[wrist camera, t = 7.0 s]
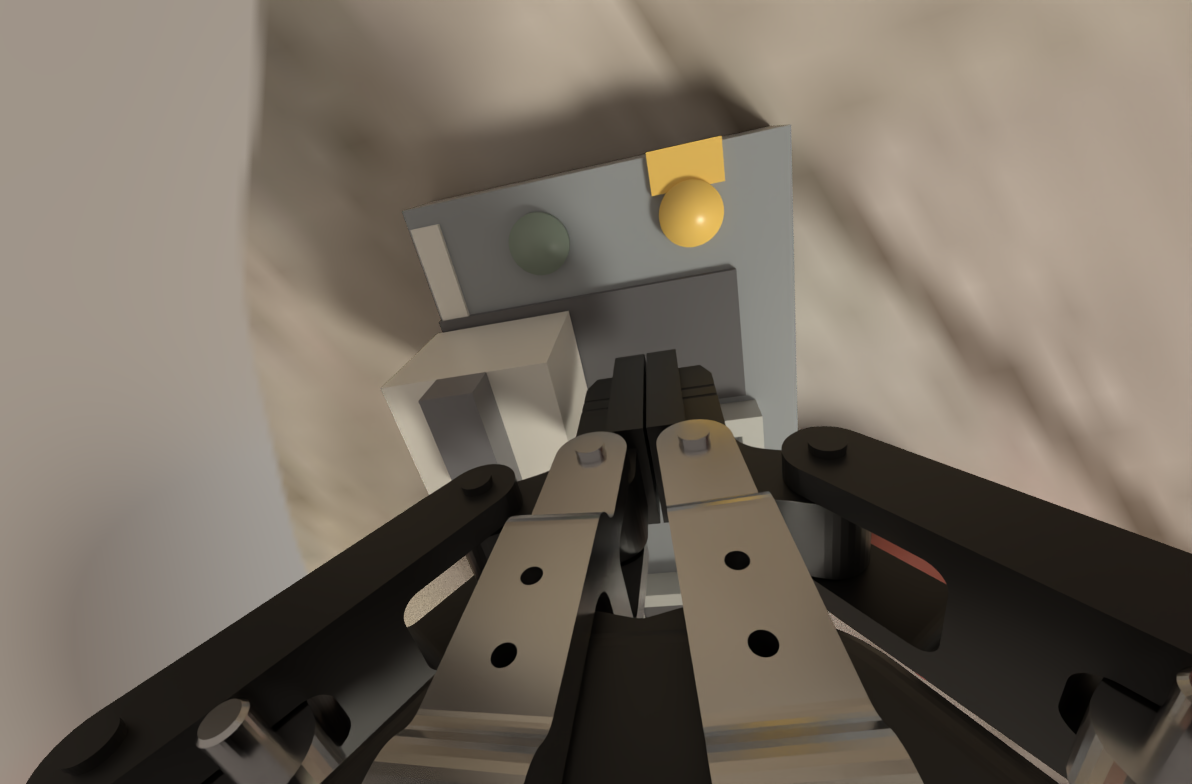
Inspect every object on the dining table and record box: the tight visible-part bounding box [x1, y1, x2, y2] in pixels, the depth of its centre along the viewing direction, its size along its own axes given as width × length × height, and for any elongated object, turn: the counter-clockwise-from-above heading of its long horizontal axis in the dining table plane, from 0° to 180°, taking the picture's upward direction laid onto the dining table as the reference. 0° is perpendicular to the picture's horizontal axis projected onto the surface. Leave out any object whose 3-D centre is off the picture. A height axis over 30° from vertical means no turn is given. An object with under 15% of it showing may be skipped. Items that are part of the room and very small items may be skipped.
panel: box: [402, 125, 798, 618], centre depth 18 cm, size 10×22×3 cm, turn 12°
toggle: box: [381, 311, 588, 495], centre depth 13 cm, size 4×3×4 cm
